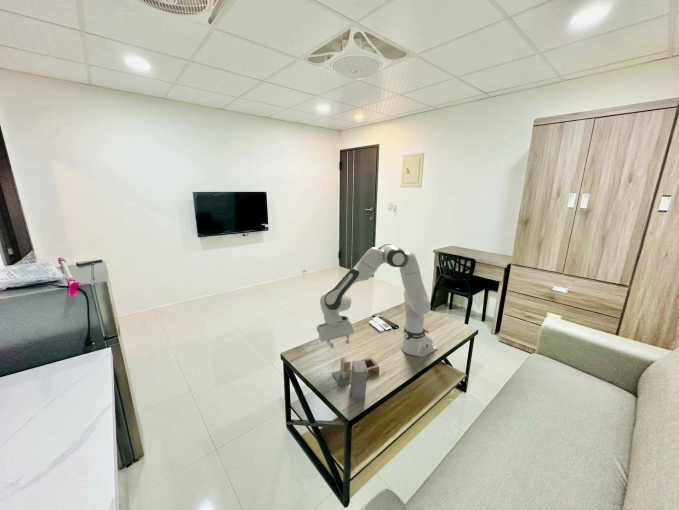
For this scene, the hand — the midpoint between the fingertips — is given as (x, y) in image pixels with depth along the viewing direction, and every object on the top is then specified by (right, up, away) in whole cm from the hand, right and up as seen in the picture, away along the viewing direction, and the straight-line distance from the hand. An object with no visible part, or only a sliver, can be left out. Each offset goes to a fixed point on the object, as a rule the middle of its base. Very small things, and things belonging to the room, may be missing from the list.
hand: (340, 345), depth 148 cm
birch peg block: (+3, -16, -2) cm, 16 cm away
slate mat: (+3, -16, -2) cm, 16 cm away
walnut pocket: (+15, -15, +3) cm, 22 cm away
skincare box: (+9, -19, -13) cm, 25 cm away
